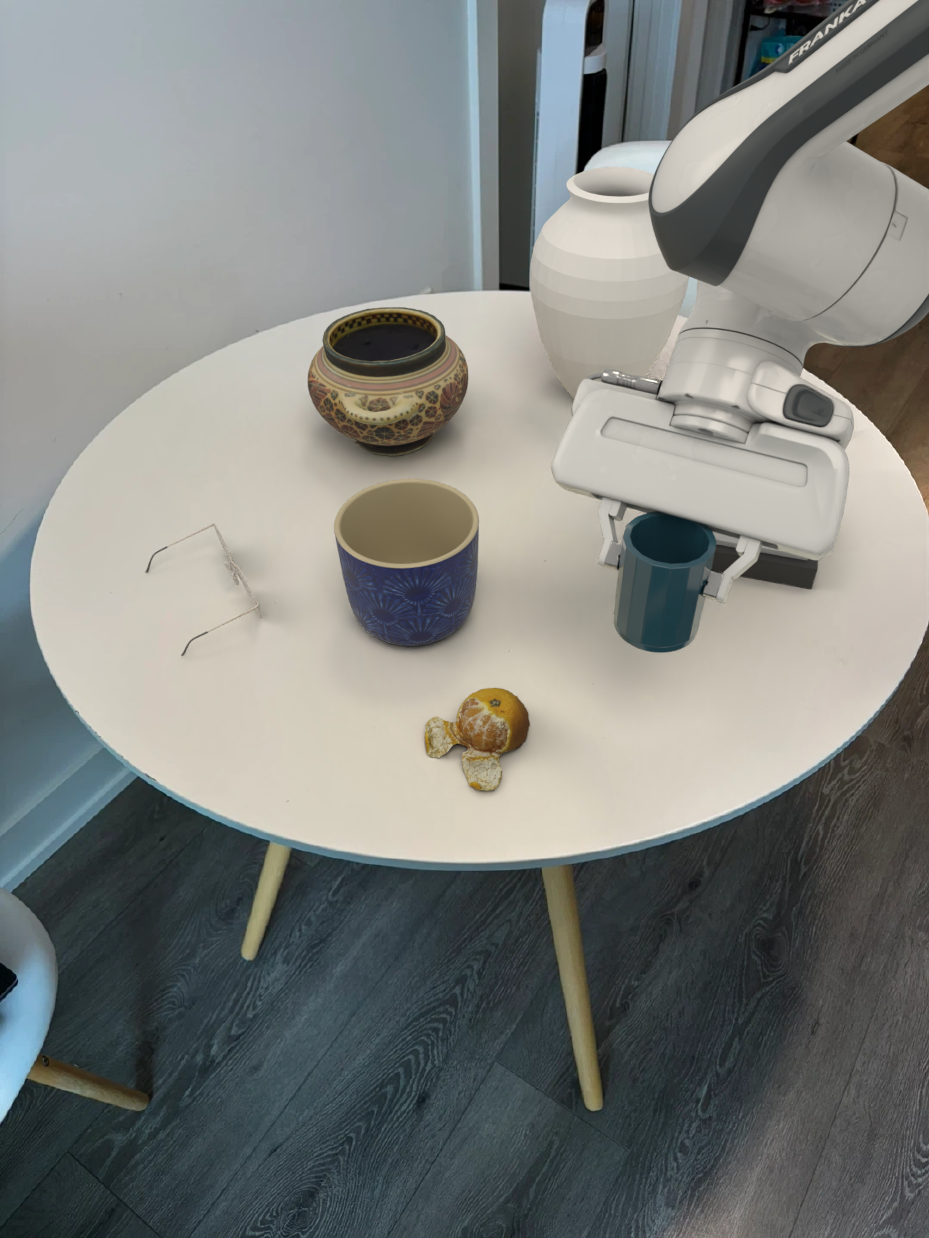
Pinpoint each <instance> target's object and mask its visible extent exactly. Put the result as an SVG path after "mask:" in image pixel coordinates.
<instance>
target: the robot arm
mask: <svg viewBox="0 0 929 1238" xmlns="http://www.w3.org/2000/svg"><path fill="white" fill-rule="evenodd" d="M927 86H929V0H847V1H845V2H844V3H843V4H842V5H841V6H839V7H838V8H837V9H836V10H835V11H833V12H832V13H831V14H830V15H829V16H828V17H826V18H825V19H824V20H823V21H822V22H820V23H819V24H817V25H816V26H815V27H814V28H812V30H810V31H809V32H808V33H807V34H806V35H804V36H803V37H802V38H801V39H799V40H798V41H797V42H796V43H795V44H793V45H792V46H791V47H790V48H789V49H788V50H786V51H785V52H783V54H781V55H780V56H779V57H777V58H776V59H775V60H774V61H772V62H771V63H769V64H768V65H767V66H766V67H764V68H763V69H761V70H760V71H758V72H757V73H755V74H754V75H751V76H750V77H749V78H746V79H745V80H743V81H742V82H740V83H738V84H736V85H735V86H732V87H731V88H730V89H728V90H726V91H724V92H723V93H721V94H719V95H718V96H716V97H715V98H713V99H711V100H710V101H708V102H707V103H706V104H705V105H702V107H700V109H698V110H697V111H696V112H695V113H694V114H693V115H692V116H691V117H690V118H689V119H688V120H687V121H686V122H685V123H684V124H683V126H681V128H680V129H679V131H678V132H677V133H676V134H675V136H674V137H673V138H672V139H671V141H670V143H669V145H668V146H667V147H666V149H665V151H664V152H663V155H662V156H661V158H660V160H659V162H658V164H657V167H656V169H655V171H654V173H653V174H654V176H653V179H652V182H651V186H650V190H649V197H648V204H649V212H650V218H651V223H652V227H653V231H654V234H655V237H656V240H657V243H658V246H659V248H660V251H661V253H662V256H663V258H664V260H665V262H666V264H667V266H668V267H669V269H671V270H673V271H676V272H678V273H681V274H684V275H686V276H689V278H692V279H694V280H697V281H696V296H695V300H694V305H693V308H692V310H691V313H690V314H689V316H688V317H687V319H686V320H685V322H684V323H683V325H682V326H681V327H680V330H679V333H678V335H677V337H676V340H675V343H674V346H673V349H672V352H671V354H670V355H671V356H670V358H669V361H668V364H667V366H666V367H667V368H666V370H665V373H664V376H663V379H658V378H652V377H648V376H645V377H644V376H636V375H629V374H624V373H622V372H621V371H618V370H613V369H605V370H604V371H603V372H602V373H595V374H592V375H590V376H588V377H587V378H585V379H584V380H583V381H582V382H581V383H580V385H579V387H578V390H577V393H576V396H575V399H574V400H573V401H572V405H571V418H570V420H569V421H568V424H567V426H566V428H565V430H564V431H563V434H562V436H561V438H560V441H559V443H558V445H557V447H556V450H555V452H554V455H553V458H552V461H551V464H550V471H551V475H552V478H553V479H554V482H555V483H556V484H557V485H558V487H560V488H562V489H563V490H564V491H567V492H570V493H574V494H577V495H580V496H584V497H587V498H591V499H595V500H599V501H600V505H599V508H598V511H597V514H598V519H599V524H600V530H601V533H602V538H603V539H604V541H603V544H602V547H601V550H600V553H599V556H598V560H597V564H598V565H600V566H602V567H604V568H607V569H611V570H614V571H619V563H620V555H621V547H622V543H619V539H618V535H617V530H616V525H615V524H616V523H615V521H617V522H622V521H623V520H624V517H625V513H626V511H627V509H630V510H634V511H637V512H642V513H643V514H646V513H649V512H655V511H658V512H662V513H666V514H669V515H673V516H676V517H680V518H683V519H687V520H691V521H694V522H698V523H701V524H705V525H707V526H708V527H709V528H710V529H711V530H712V532H715V533H719V534H722V535H726V536H730V537H733V538H737V539H739V541H738V544H737V547H736V551H737V553H738V555H739V556H741V557H740V558H739V559H738V560H736V561H735V562H734V563H733V564H732V565H731V566H730V567H729V568H728V569H726V570H725V571H724V572H723V573H721V572H715V571H711V572H710V574H709V576H708V579H707V581H708V584H707V585H706V586H705V588H704V591H703V596H704V597H705V599H709V600H712V601H714V602H718V603H722V604H725V603H726V601H727V599H728V596H729V593H730V590H731V587H732V585H733V582H734V581H735V580H737V579H738V578H739V577H741V576H740V575H741V574H743V573H744V572H745V571H746V570H747V569H748V568H750V567H751V566H752V565H753V564H754V563H755V562H757V559H758V557H759V554H760V551H761V548H762V546H765V547H769V548H772V549H776V550H779V551H783V552H786V553H790V554H793V555H797V556H801V557H804V558H808V559H811V560H818V561H819V560H823V559H824V558H826V557H827V556H829V555H830V554H832V553H833V551H834V549H835V545H836V543H837V539H838V536H839V533H840V529H841V525H842V521H843V517H844V512H845V507H846V502H847V495H848V490H849V481H850V461H849V457H848V455H847V453H846V449H847V447H848V446H849V444H850V442H851V440H852V437H853V433H854V429H855V417H854V414H853V410H852V408H851V406H849V404H847V402H845V401H843V400H842V399H839V398H838V397H836V396H834V395H832V394H831V393H829V392H827V391H825V390H824V389H821V388H820V387H818V386H817V385H814V384H813V383H811V382H810V381H808V380H806V379H804V378H803V377H802V376H801V375H802V373H803V370H804V364H805V358H806V355H807V352H808V351H809V349H810V348H812V347H813V346H814V345H816V344H823V343H824V344H828V345H830V346H834V347H841V348H867V347H873V346H877V345H880V344H883V343H886V342H888V341H891V340H893V339H896V338H897V337H899V336H901V335H903V334H904V333H907V332H908V331H909V330H911V329H912V328H913V327H915V326H917V325H918V324H919V323H920V322H921V321H922V320H924V318H925V317H926V316H927V315H928V314H929V188H927V187H926V186H923V185H922V184H921V183H919V182H917V180H916V181H915V180H914V179H913V178H910V177H909V176H908V175H906V174H904V173H903V172H901V171H900V170H898V169H896V168H895V167H893V166H891V165H890V164H887V163H885V162H883V161H880V160H879V159H877V158H874V157H873V156H871V155H870V154H868V153H866V152H865V151H863V150H861V148H858V147H856V146H854V145H853V144H851V143H850V142H848V141H849V140H850V139H851V138H853V137H855V136H856V135H857V134H859V133H860V132H862V131H863V130H865V129H866V128H867V127H870V125H872V124H873V123H875V122H877V121H878V120H879V119H881V118H882V117H883V116H885V115H886V114H888V113H890V112H891V111H893V110H894V109H896V108H897V107H899V105H901V104H903V103H904V102H906V101H907V100H909V99H910V98H912V97H913V96H914V95H916V94H917V93H919V92H920V91H922V90H923V89H924V88H926V87H927ZM600 378H601V382H599V381H595V379H600Z"/></svg>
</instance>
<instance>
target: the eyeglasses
mask: <svg viewBox="0 0 929 1238" xmlns="http://www.w3.org/2000/svg"><path fill="white" fill-rule="evenodd" d="M212 527H214V530H215V532H216V535H217V538H218V540H219V543H220V545H221V547H222V550H223V551H224V553H225V556H226V557H227V559H228V561H229V562H228V561H223V565H224V567H225V568H226V569H227V570H228V571H229V572H232V571H234V572H232V573H231V575H230V578H231V580H232V582H233V584H235V585H236V586H240V581H241V583H242V586H243V587H244V590H245V592H246V594H247V596H248V598H249V600H250V602H251V603H252V605H253V606H252V608H250V609H248V610H246V611H244V612H241V613H240V614H238V615H235V616H234V617H232V618H230V619H228V620H226V621H224V622H223V623H221V624H218V625H217V626H215V627H213V628H211V629H209V630H207V631H205V632H202V633H200V634H198V635H196V636H194V637H192V638H191V639H190V640H189V641H188V642H187V644H186V645H185V647H184V650H183V652H182V653H181V655H180V656H181V657H183V656H185V655H186V652H187V650H188V648H189V646H190V644H191V643H192V642H193V641H195V640H196V639H198V638H200V637H203V636H204V635H207V634H208V633H211V632H213V631H214V630H216V629H218V628H220V627H222V626H225V625H227V624H228V623H230V622H233V621H234V620H237V619H239V618H241V617H243V616H246V615H247V614H250V613H251V612H253V611H256V613H257V615H258V616H259V618H260V619H261V618H262V614H261V610H260V603H259V601H258V600H256V597H255V595H254V592H253V590H252V588H251V586H250V584H249V583H248V580H247V578H246V577H245V575H244V572H243V571H242V569H241V568H240V567H239V565H238V564H236V563H235V562H234V559H233V557H232V554H231V552H230V549H229V546H228V545H227V542H226V540H225V538H224V537H223V535H222V532H221V531H220V529H219V528H218V526H217V525H216V523H215V522H213V523H212V524H209V525H207V526H204V527H203V528H201V529H198V530H197V531H195V532H193V533H191V534H189V535H187V536H184V537H183V538H180V539H179V540H177V541H175V542H173V543H171V544H168V545H166V546H164V547H162V548H160V549H159V550H157V551H155V552H154V553H153V554H152V555H151V557H150V559H149V562H148V564H147V568H146V570H145V571H144V572H145V573H147V574H148V573H149V571H150V568H151V564H152V561H153V559H154V557H155V555H157V554H159V553H161V552H162V551H164V550H166V549H169V548H170V547H171V546H174V545H176V544H178V543H180V542H182V541H185V540H186V539H188V538H190V537H193V536H195V535H197V534H199V533H201V532H204V531H205V530H208V529H210V528H212ZM238 577H239V579H238ZM239 580H240V581H239Z"/></svg>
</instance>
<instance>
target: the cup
mask: <svg viewBox="0 0 929 1238" xmlns="http://www.w3.org/2000/svg"><path fill="white" fill-rule="evenodd" d="M621 544H622V547H621V555H620V563H619V571H618V570H617V571H618V573H617V579H616V580H617V581H616V588H615V598H614V605H613V613H612V614H613V617H612V619H613V620H612V622H613V626H614V629H615V631H616V634H618V636H619V637H620V638H621V639H622V640H623V641H624V642H626V643H627V644H629V645H630V646H632V647H634V648H636V649H638V650H641V651H645V652H650V653H656V654H657V653H658V654H664V653H665V654H667V653H673V652H677V651H680V650H682V649H684V648H686V647H688V646H689V645H690V644H691V643H692V642H693V641H694V640H695V639H696V637H697V635H698V632H699V629H700V623H701V619H702V616H703V615H702V614H703V609H704V605H705V601H706V600H705V599H706V598H705V597H704V596H703V591H704V588H705V586H706V585H707V584H708V581H707V579H708V576H709V574H710V572H711V568H712V563H713V558H714V554H715V549H716V544H717V541H716V538H715V536H714V534H713V532H712V530H711V529H710V528H709V527H708V526H707V525H705V524H701V523H698V522H694V521H691V520H687V519H683V518H680V517H676V516H673V515H669V514H666V513H662V512H658V511H655V512H649V513H643V514H640V515H638V516H635V517H634V518H633V519H632V520H631V521H630V522H629V523H626V525H625V528H624V531H623V534H622V540H621Z"/></svg>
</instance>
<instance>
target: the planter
mask: <svg viewBox="0 0 929 1238" xmlns="http://www.w3.org/2000/svg"><path fill="white" fill-rule="evenodd" d="M479 531H480V516H479V512H478V510H477V507H476V506H475V504H474V503H473V501H472V500H471V499H470V498H469V497H468V496H467V495H466V494H465V493H463V492H462V491H460V490H459V489H457V488H456V487H453V486H452V485H449V484H446V483H443V482H439V481H436V480H435V481H434V480H430V479H423V478H402V479H401V478H400V479H394V480H388V481H383V482H380V483H376V484H374V485H373V484H372V485H371V486H368V487H366V488H364V489H362V490H360V491H358V492H357V493H355V494H354V495H352V496H351V497H350V498H348V499H346V501H345V502H344V503H343V504H342V506H341V507H340V508H339V510H338V511H337V514H336V516H335V518H334V522H333V532H334V537H335V542H336V548H337V552H338V559H339V564H340V568H341V574H342V579H343V583H344V587H345V592H346V595H347V598H348V602H349V605H350V608H351V610H352V613H353V615H354V617H355V619H356V621H357V622H358V623H359V625H360V626H361V627H362V628H363V629H364V630H365V631H366V632H367V633H369V634H370V635H371V636H373V637H374V638H377V639H378V640H380V641H383V642H386V643H389V644H392V645H398V646H405V647H406V646H410V647H412V646H414V647H415V646H423V645H428V644H432V643H436V642H438V641H440V640H443V639H446V638H447V637H449V636H450V635H452V634H453V633H455V631H457V630H458V629H459V628H460V627H461V626H463V624H464V623H465V621H466V620H467V619H468V617H469V615H470V613H471V611H472V608H473V605H474V602H475V597H476V591H477V582H478V567H479V542H480V541H479V539H480V538H479V537H480V535H479Z"/></svg>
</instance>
